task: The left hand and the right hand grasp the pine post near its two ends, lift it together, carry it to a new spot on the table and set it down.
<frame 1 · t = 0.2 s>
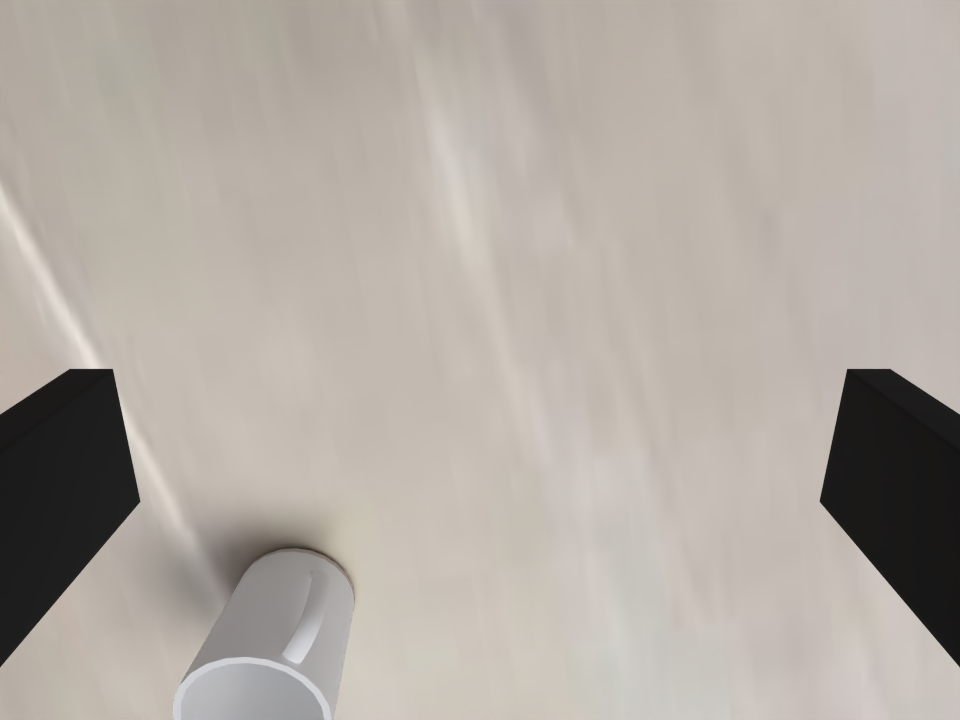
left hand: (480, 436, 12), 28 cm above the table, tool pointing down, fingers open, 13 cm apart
mug: (306, 582, 48), on the table
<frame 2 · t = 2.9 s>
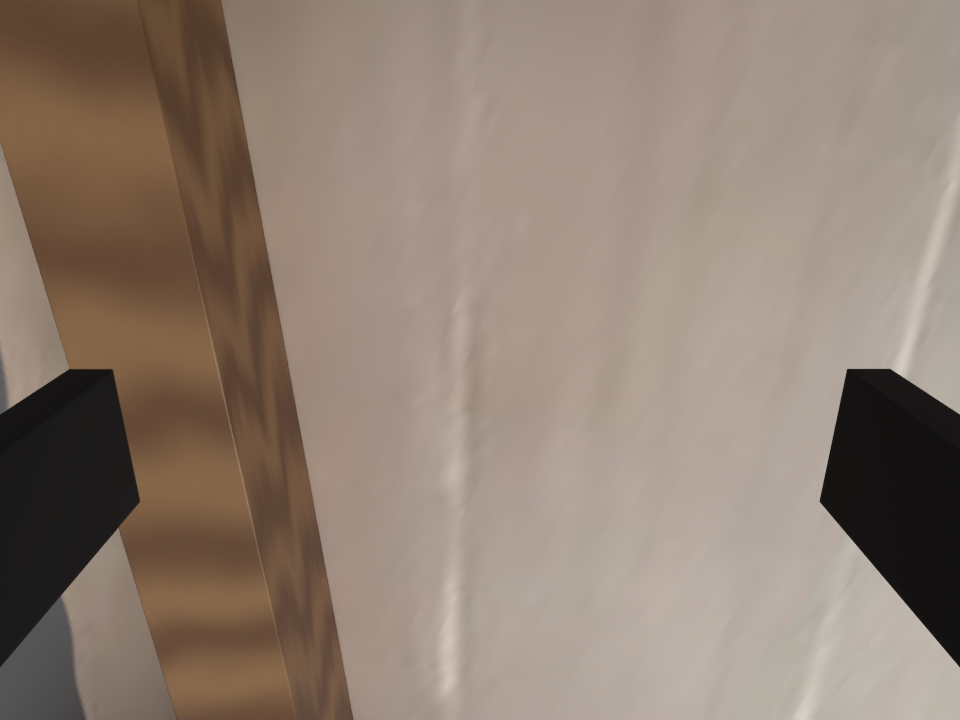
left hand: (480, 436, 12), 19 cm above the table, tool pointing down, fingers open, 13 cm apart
post: (248, 447, 34), on the table, touching right hand
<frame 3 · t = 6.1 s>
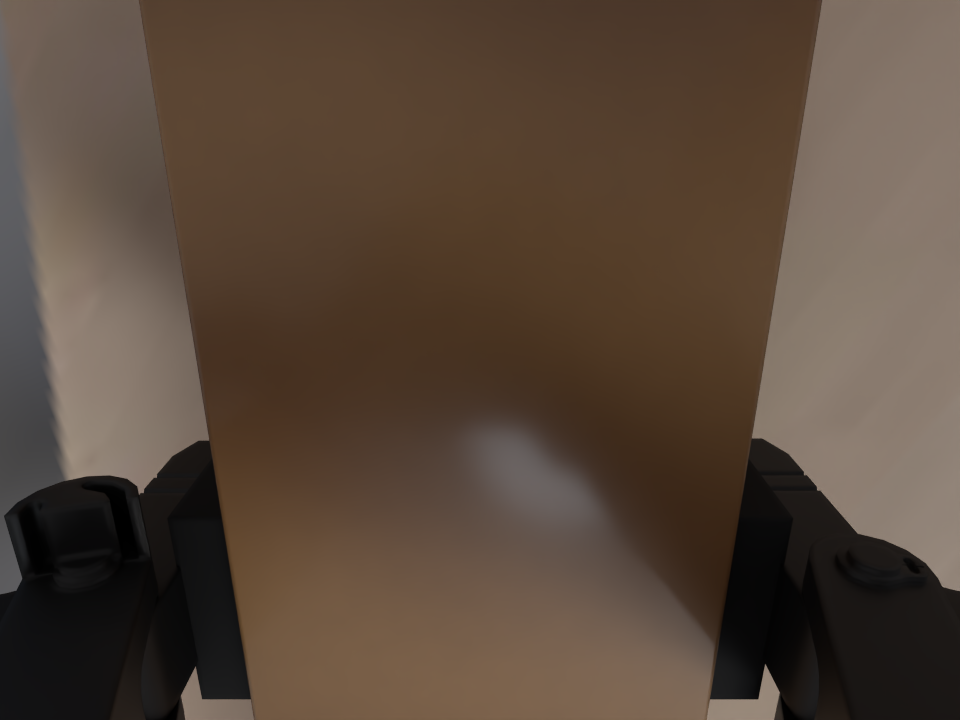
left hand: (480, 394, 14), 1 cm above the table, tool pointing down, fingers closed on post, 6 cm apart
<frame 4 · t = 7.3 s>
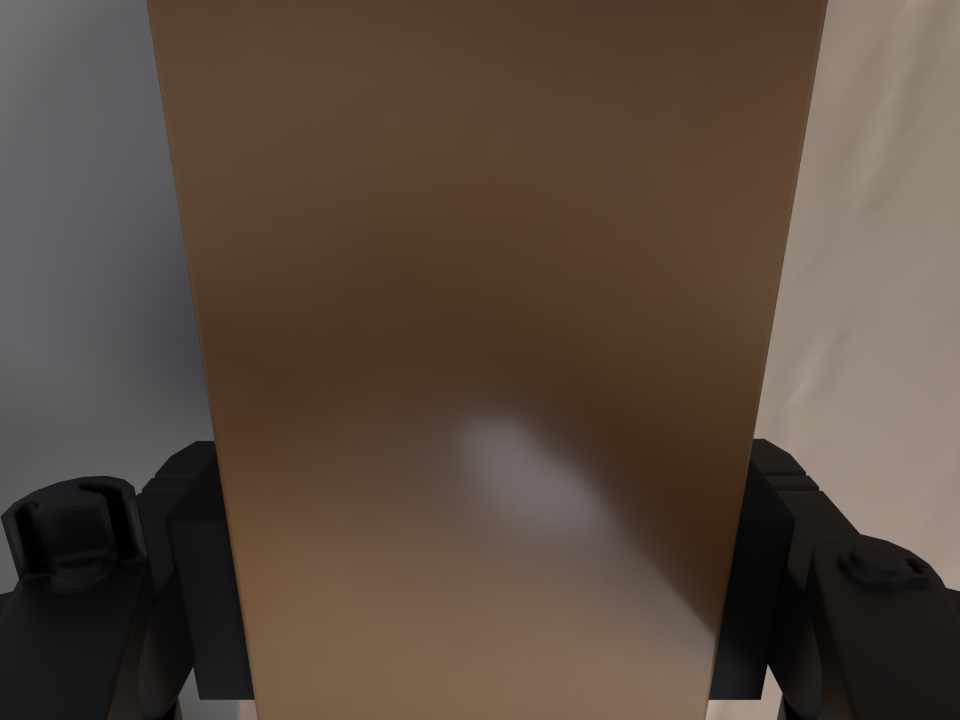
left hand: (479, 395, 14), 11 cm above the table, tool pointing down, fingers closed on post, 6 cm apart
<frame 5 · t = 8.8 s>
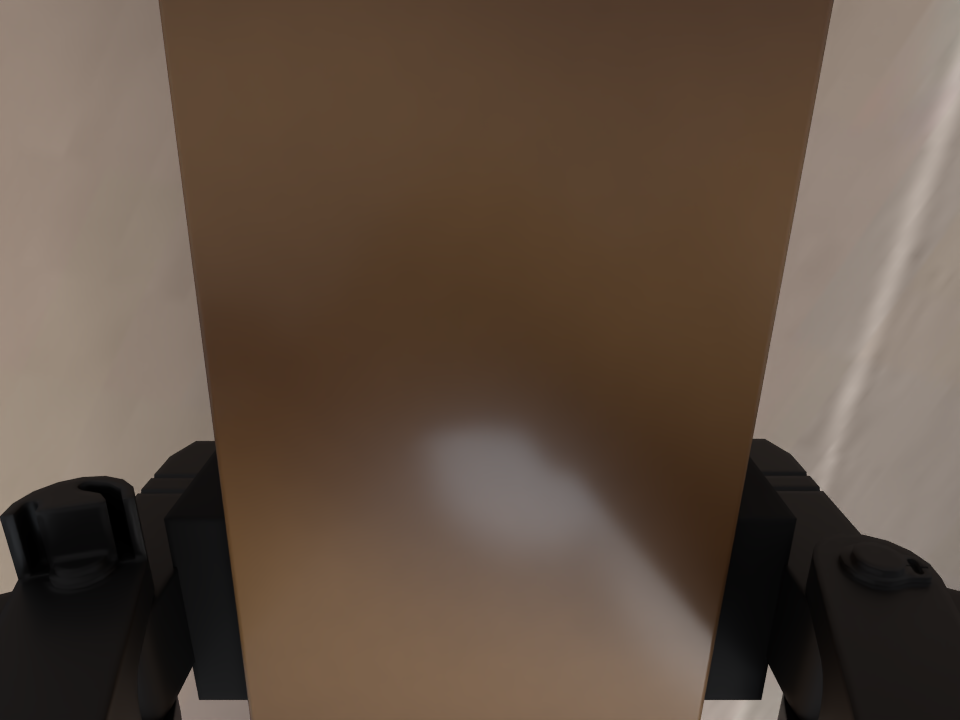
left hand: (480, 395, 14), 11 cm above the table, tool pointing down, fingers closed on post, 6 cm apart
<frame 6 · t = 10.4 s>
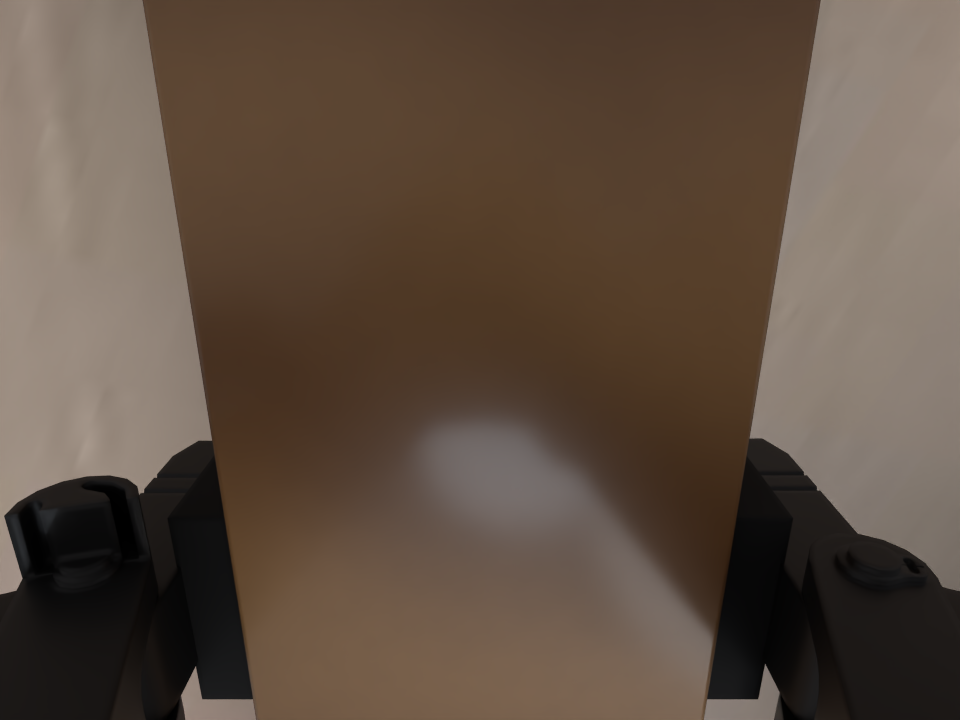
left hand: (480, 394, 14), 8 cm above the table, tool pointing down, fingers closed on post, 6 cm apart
when the left hand's fingers open (2 cm above the table, at t = 11.7 s): post stays where it is, on the table.
when the right hand's fingers open (2 cm above the table, at t = 11.8 s): post stays where it is, on the table.
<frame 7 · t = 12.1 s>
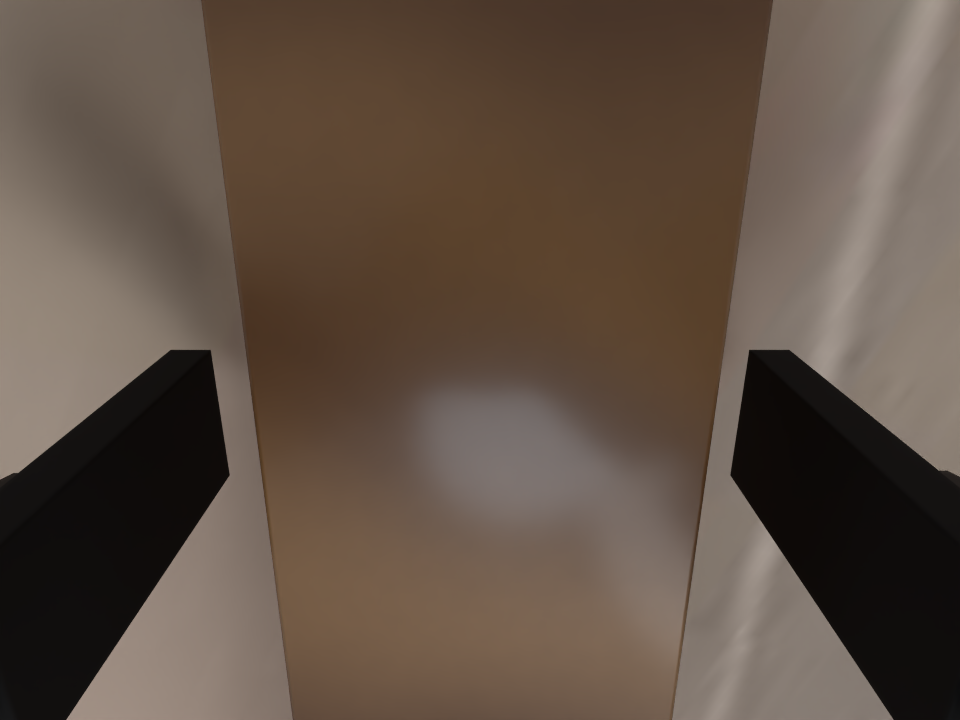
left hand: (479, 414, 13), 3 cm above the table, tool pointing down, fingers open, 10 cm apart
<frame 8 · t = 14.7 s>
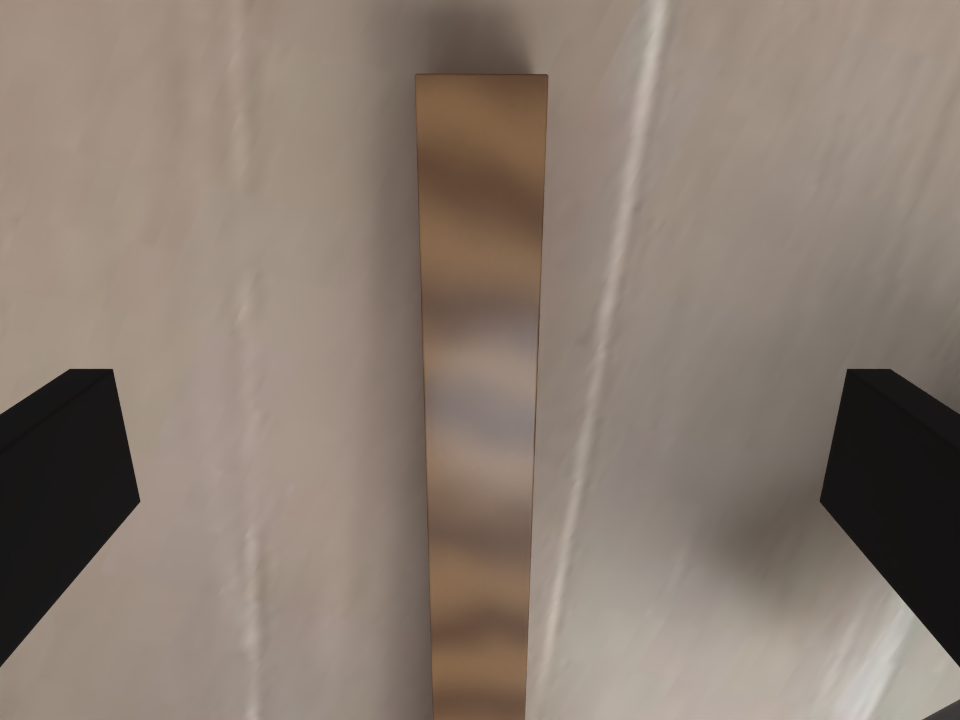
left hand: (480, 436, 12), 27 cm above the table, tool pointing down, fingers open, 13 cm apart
post: (479, 608, 47), on the table
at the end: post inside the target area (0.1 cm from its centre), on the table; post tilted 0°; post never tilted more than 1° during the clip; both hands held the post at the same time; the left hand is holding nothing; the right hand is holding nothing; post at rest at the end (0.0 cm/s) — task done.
